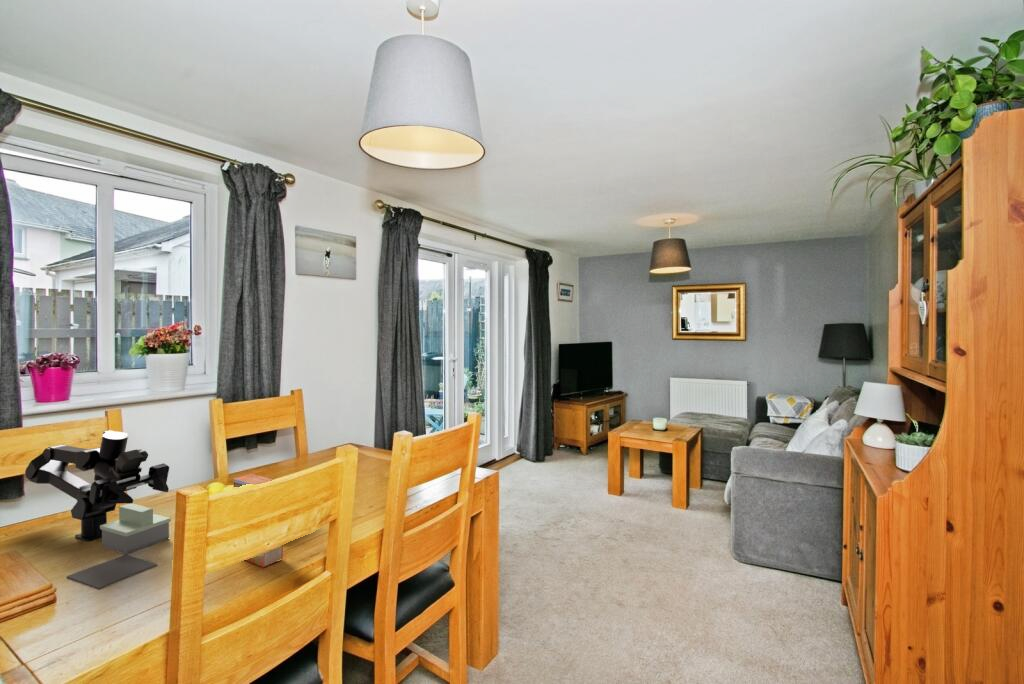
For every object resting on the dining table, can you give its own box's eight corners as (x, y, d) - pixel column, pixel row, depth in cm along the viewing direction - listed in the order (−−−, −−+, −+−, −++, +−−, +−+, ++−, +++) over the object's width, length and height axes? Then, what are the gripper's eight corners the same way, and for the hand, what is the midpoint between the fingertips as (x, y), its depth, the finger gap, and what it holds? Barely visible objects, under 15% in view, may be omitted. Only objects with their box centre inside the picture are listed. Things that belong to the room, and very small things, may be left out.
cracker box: (284, 559, 133) (284, 481, 132) (262, 569, 128) (262, 487, 127) (254, 546, 140) (254, 472, 140) (232, 554, 135) (232, 477, 134)
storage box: (102, 546, 139) (101, 528, 138) (144, 532, 149) (144, 515, 148) (126, 554, 134) (126, 535, 134) (168, 538, 144) (168, 521, 144)
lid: (100, 532, 138) (99, 511, 138) (145, 518, 149) (144, 498, 149) (126, 540, 134) (126, 517, 134) (170, 524, 144) (170, 504, 144)
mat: (66, 577, 122) (66, 576, 122) (125, 555, 134) (125, 554, 134) (98, 589, 116) (98, 587, 116) (157, 565, 128) (157, 563, 128)
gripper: (80, 454, 132) (117, 479, 126) (154, 438, 149) (189, 459, 144) (74, 492, 133) (110, 518, 128) (148, 472, 151) (182, 494, 145)
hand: (150, 495), depth 136 cm, fingers open, 9 cm apart
